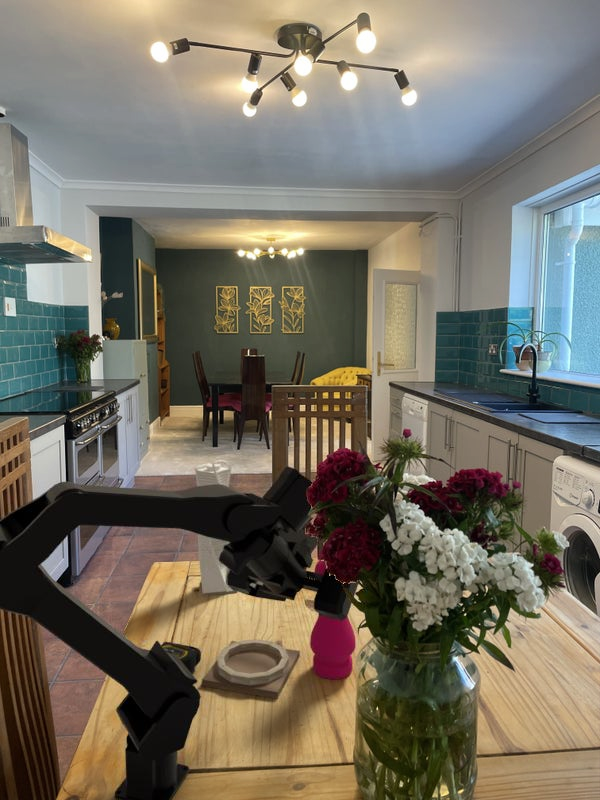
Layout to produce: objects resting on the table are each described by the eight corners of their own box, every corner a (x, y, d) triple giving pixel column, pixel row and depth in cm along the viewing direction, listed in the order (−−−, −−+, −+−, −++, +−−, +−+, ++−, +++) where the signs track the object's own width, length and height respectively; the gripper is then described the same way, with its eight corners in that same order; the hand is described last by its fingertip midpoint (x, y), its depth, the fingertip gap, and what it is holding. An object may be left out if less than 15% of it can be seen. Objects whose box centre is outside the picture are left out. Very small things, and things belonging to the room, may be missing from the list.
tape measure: (203, 666, 95) (203, 644, 95) (181, 689, 89) (180, 666, 89) (166, 658, 98) (166, 637, 97) (142, 681, 91) (141, 657, 91)
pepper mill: (338, 687, 89) (340, 558, 87) (300, 670, 94) (301, 548, 92) (363, 666, 95) (365, 545, 93) (326, 651, 100) (327, 536, 97)
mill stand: (277, 698, 86) (277, 684, 86) (201, 685, 90) (201, 671, 89) (299, 656, 98) (299, 643, 98) (231, 646, 101) (231, 634, 101)
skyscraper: (238, 595, 121) (237, 460, 118) (198, 599, 119) (196, 462, 117) (233, 579, 130) (232, 452, 127) (195, 582, 128) (193, 454, 125)
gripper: (353, 513, 76) (386, 568, 87) (237, 493, 86) (280, 544, 96) (323, 594, 70) (362, 642, 81) (202, 563, 80) (251, 609, 91)
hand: (311, 605), depth 87 cm, fingers open, 9 cm apart
